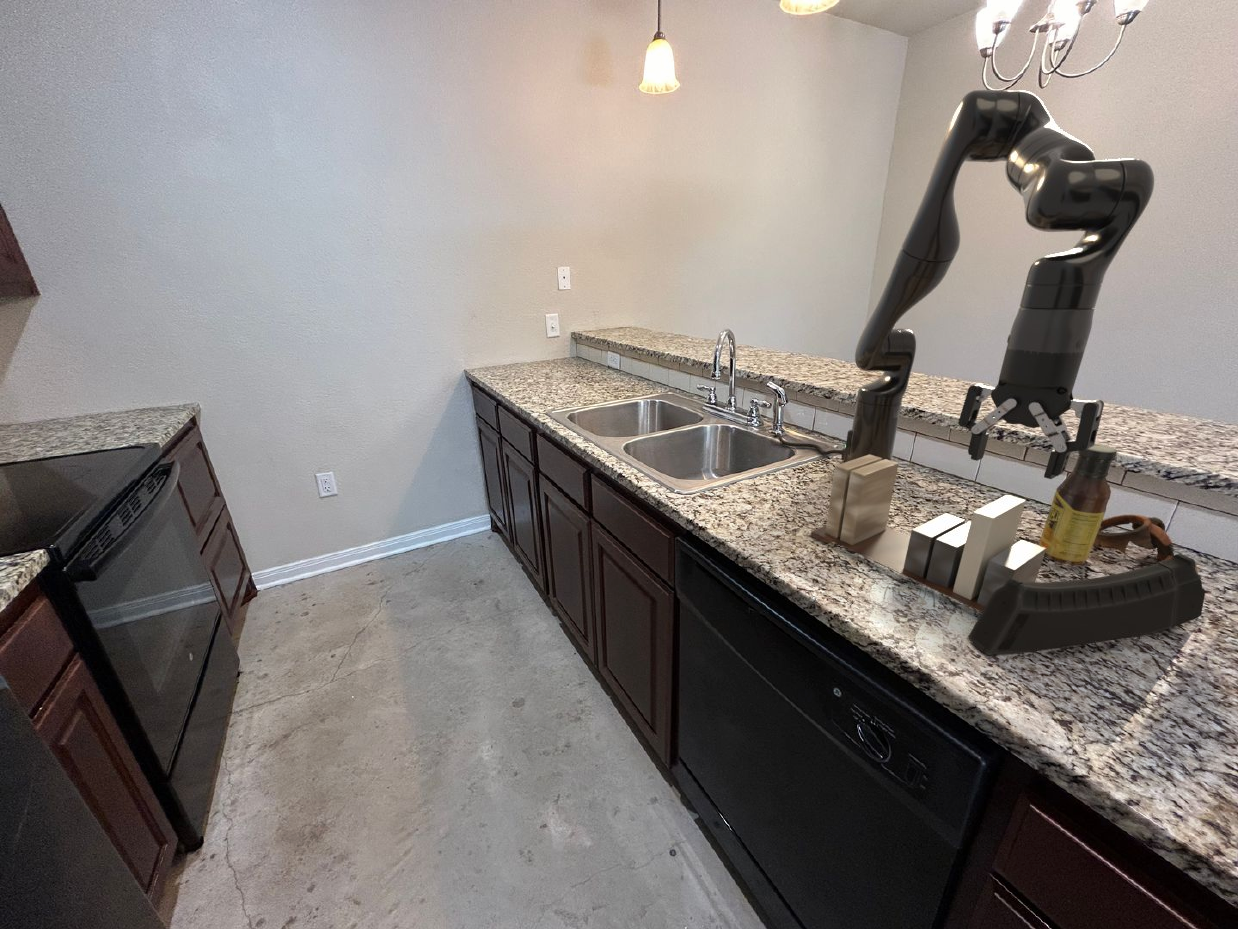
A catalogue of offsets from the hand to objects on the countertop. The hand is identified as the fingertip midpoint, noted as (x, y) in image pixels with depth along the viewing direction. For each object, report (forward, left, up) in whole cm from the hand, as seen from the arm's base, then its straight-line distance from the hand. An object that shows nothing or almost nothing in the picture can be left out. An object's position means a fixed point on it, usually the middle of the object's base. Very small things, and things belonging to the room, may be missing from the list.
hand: (1011, 467), depth 67 cm
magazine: (+12, -1, -20) cm, 23 cm away
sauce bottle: (+3, +20, -20) cm, 28 cm away
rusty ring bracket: (+9, +31, -20) cm, 38 cm away
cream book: (0, 0, -19) cm, 19 cm away
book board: (-9, 0, -20) cm, 22 cm away
